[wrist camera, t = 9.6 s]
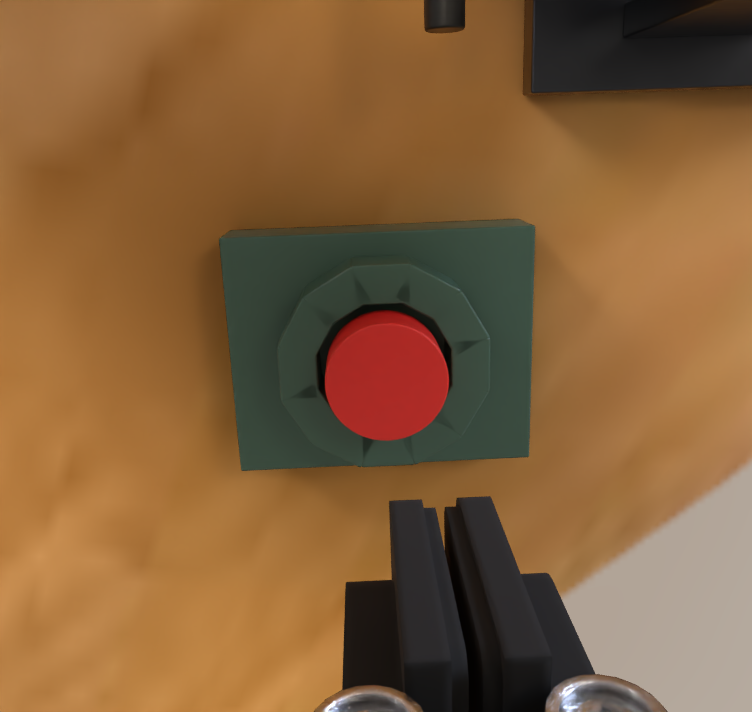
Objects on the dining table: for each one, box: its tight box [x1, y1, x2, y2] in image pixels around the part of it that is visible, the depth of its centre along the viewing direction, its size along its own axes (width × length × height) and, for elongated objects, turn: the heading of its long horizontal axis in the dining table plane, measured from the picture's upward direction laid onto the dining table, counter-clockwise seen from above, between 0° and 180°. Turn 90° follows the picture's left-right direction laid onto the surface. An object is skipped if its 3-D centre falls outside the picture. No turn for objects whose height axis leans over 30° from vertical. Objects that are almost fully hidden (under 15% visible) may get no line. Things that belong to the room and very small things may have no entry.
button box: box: [219, 219, 535, 471], centre depth 24 cm, size 10×8×4 cm
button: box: [325, 310, 449, 441], centre depth 22 cm, size 4×4×2 cm
